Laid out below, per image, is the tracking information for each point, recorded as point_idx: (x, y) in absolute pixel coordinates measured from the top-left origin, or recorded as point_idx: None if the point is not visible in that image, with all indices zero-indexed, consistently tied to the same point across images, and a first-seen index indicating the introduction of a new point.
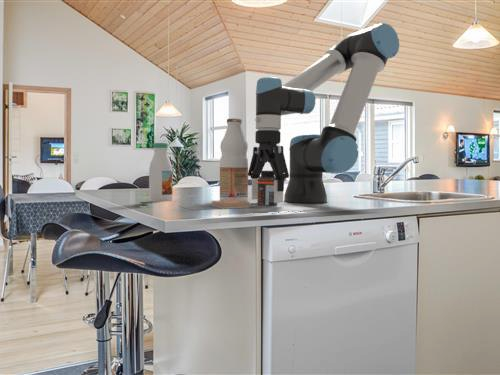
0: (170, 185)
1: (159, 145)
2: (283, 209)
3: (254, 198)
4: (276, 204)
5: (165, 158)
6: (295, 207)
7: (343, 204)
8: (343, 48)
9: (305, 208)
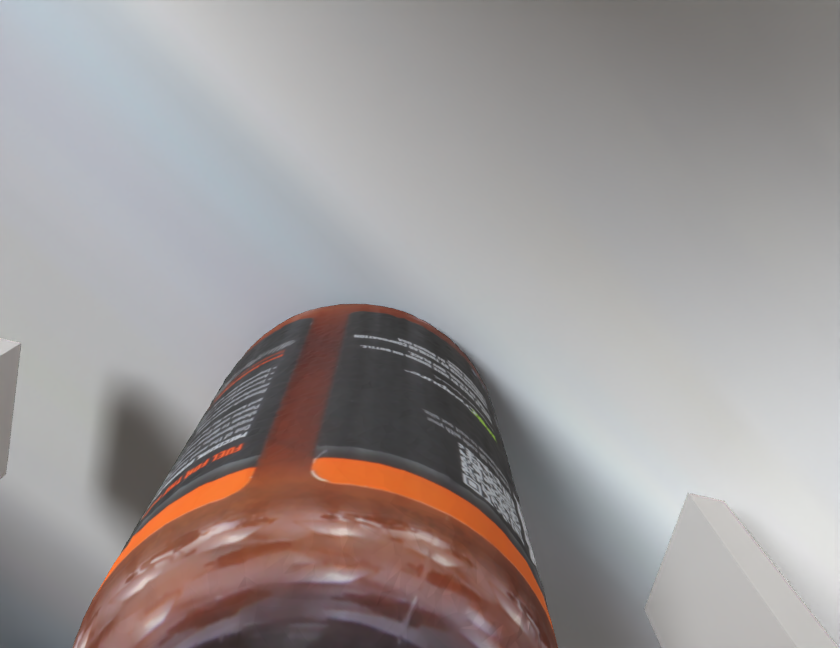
0: None
1: None
2: (628, 382)
3: (5, 450)
4: (486, 391)
5: None
6: (559, 21)
7: None
8: None
9: (765, 11)
